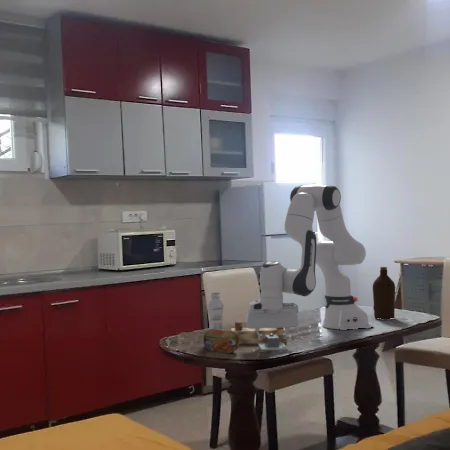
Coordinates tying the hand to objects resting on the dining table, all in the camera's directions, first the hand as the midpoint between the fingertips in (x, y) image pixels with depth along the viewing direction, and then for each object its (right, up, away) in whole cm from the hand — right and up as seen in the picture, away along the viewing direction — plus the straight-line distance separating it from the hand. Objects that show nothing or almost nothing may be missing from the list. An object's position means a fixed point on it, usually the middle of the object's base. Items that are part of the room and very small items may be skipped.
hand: (272, 339), depth 226 cm
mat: (0, -3, 0) cm, 3 cm away
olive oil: (+59, -1, +56) cm, 82 cm away
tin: (-20, -4, -5) cm, 21 cm away
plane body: (-5, -3, +11) cm, 12 cm away
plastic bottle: (-22, -4, +10) cm, 24 cm away
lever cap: (0, -3, 0) cm, 3 cm away
